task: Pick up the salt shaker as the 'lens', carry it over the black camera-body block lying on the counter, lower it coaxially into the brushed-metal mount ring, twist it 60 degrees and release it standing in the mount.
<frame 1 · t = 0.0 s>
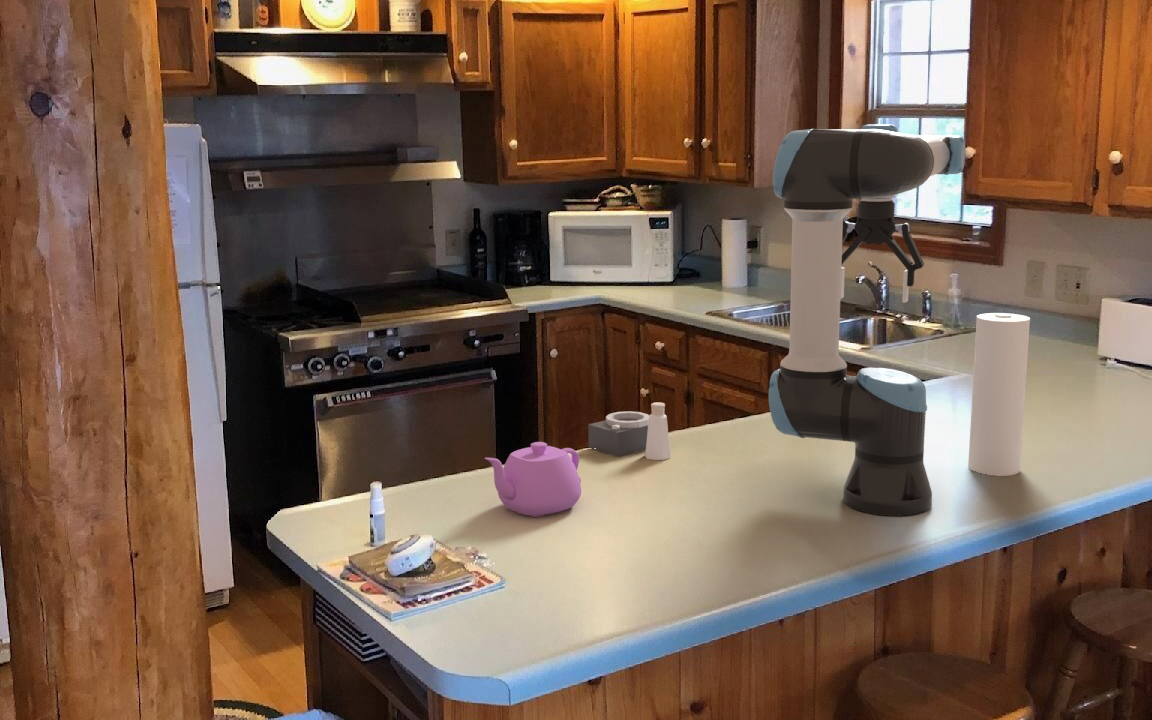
hand: (872, 300, 254), 28 cm above the worktop, fingers open, 13 cm apart
cylinder container: (993, 469, 229), on the worktop
teapot: (534, 510, 210), on the worktop
salt shaker: (657, 457, 240), on the worktop
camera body: (628, 445, 248), on the worktop
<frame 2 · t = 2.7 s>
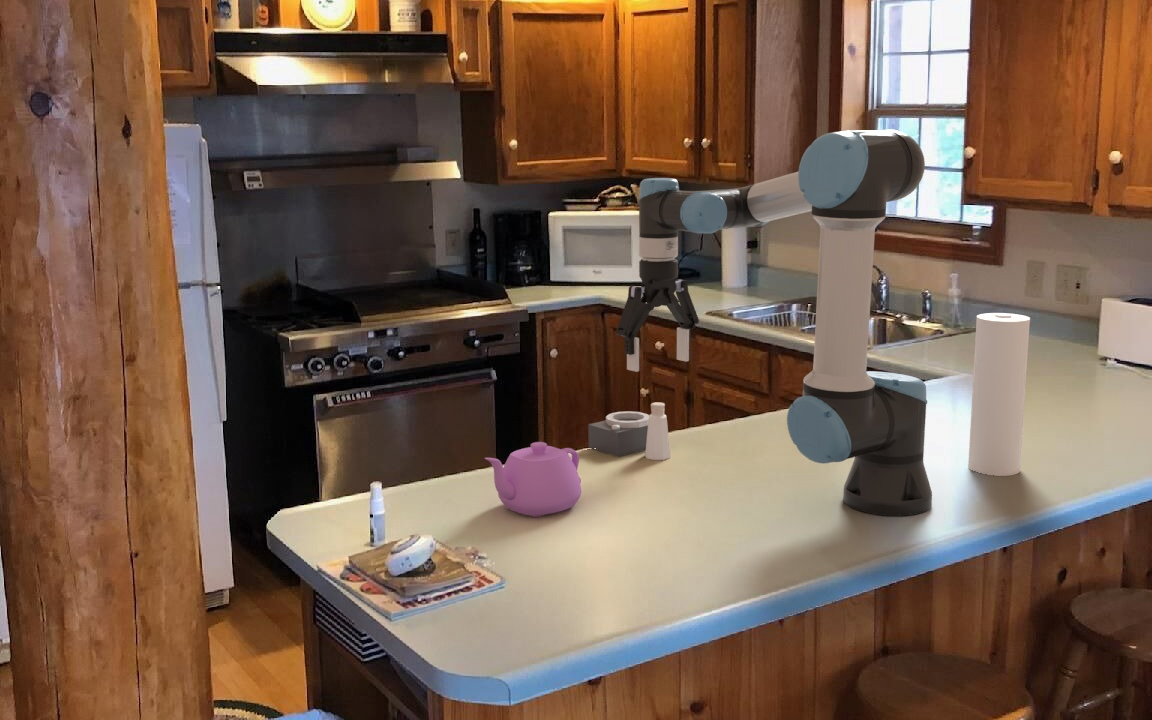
hand: (658, 365, 236), 19 cm above the worktop, fingers open, 13 cm apart
nothing on the worktop moved.
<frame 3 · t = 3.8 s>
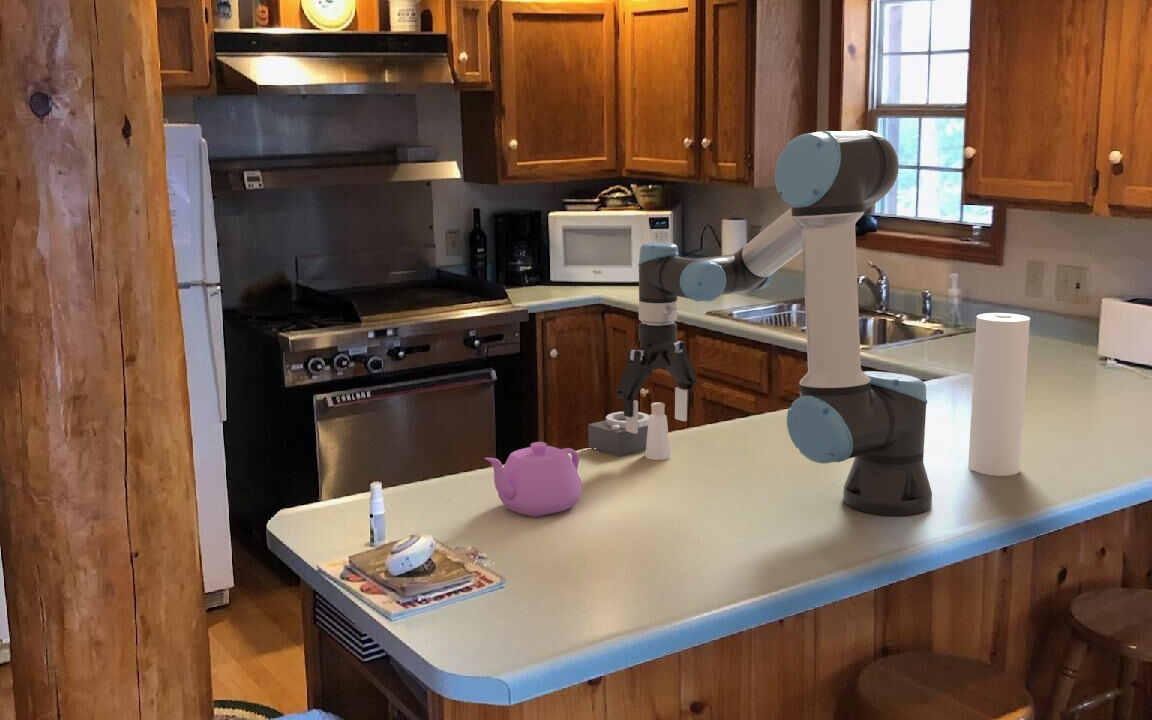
hand: (656, 426, 239), 6 cm above the worktop, fingers open, 13 cm apart
nothing on the worktop moved.
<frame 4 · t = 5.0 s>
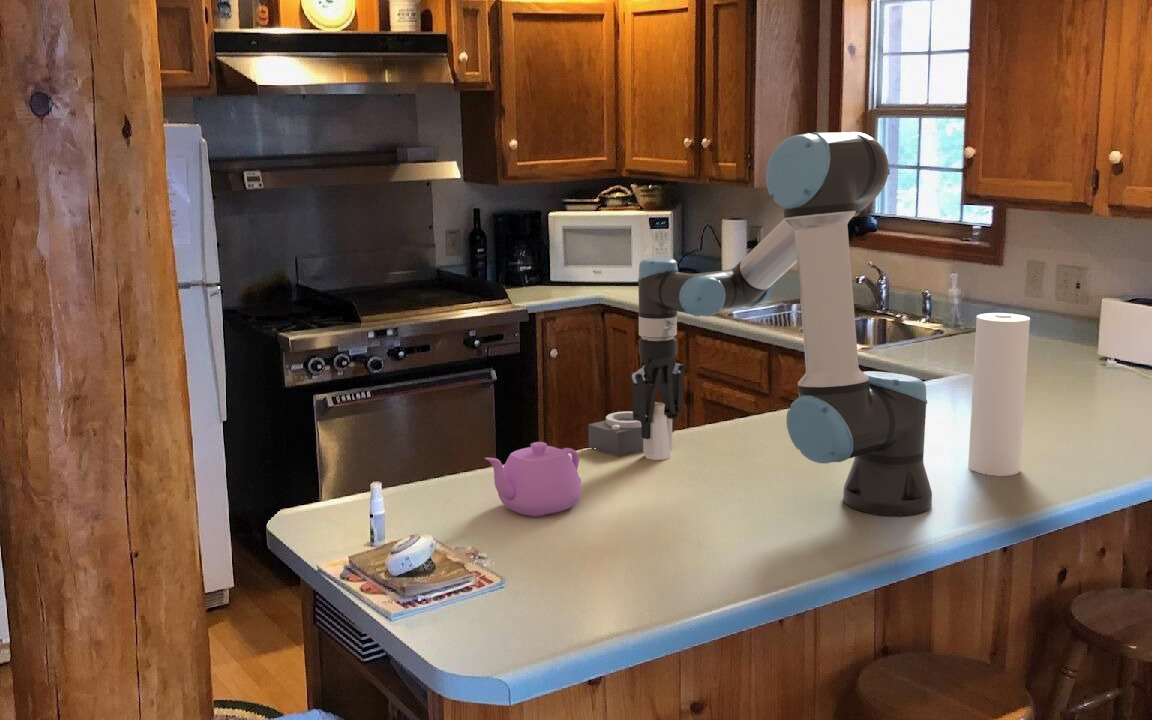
hand: (657, 451, 240), 1 cm above the worktop, fingers closed on salt shaker, 4 cm apart
salt shaker: (657, 457, 240), on the worktop, touching gripper
everything else where it was.
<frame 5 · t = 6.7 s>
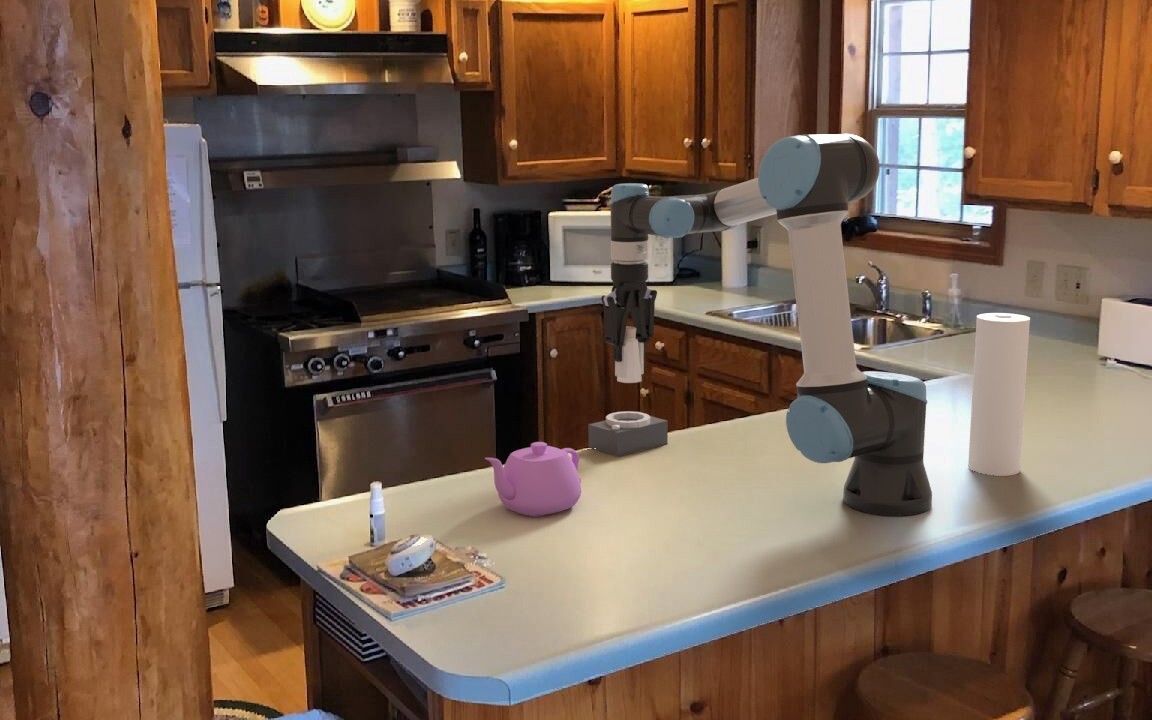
hand: (629, 374, 244), 15 cm above the worktop, fingers closed on salt shaker, 4 cm apart
salt shaker: (629, 381, 244), point 14 cm above the worktop, touching gripper
everything else where it was.
when the fingers open (7 cm above the worktop, at t = 8.8 s): salt shaker stays where it is, resting on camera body.
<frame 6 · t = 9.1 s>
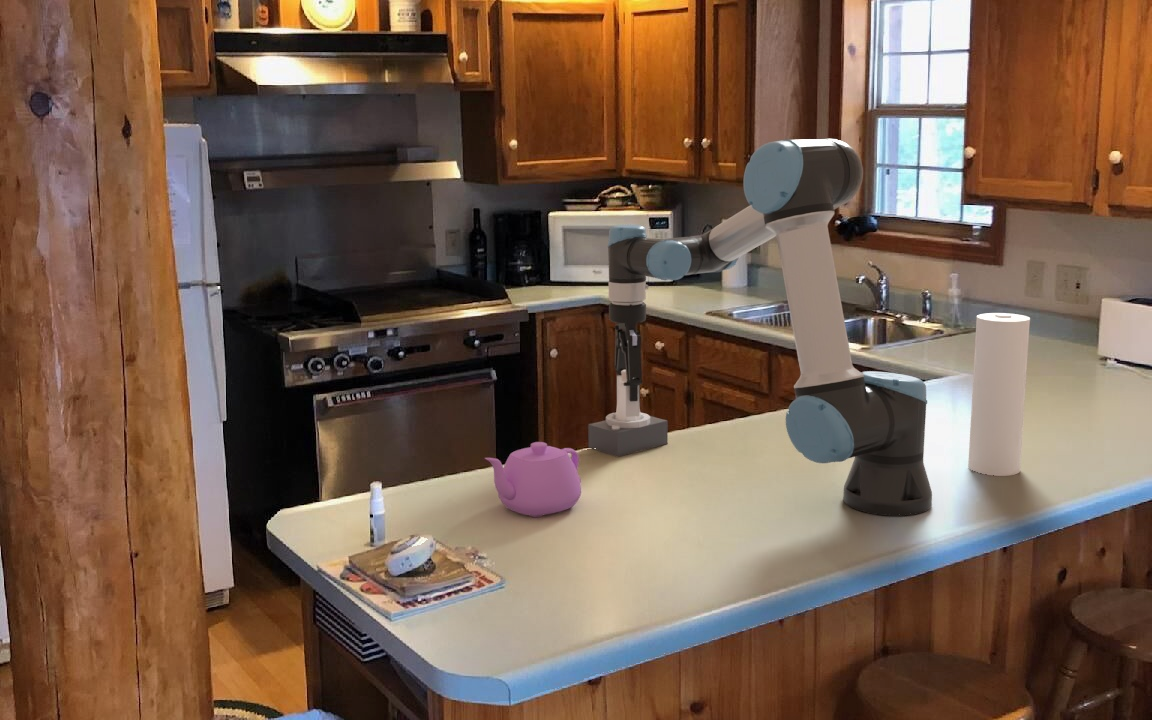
hand: (628, 410, 246), 8 cm above the worktop, fingers open, 8 cm apart
salt shaker: (628, 423, 247), point 5 cm above the worktop, touching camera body
everything else where it was.
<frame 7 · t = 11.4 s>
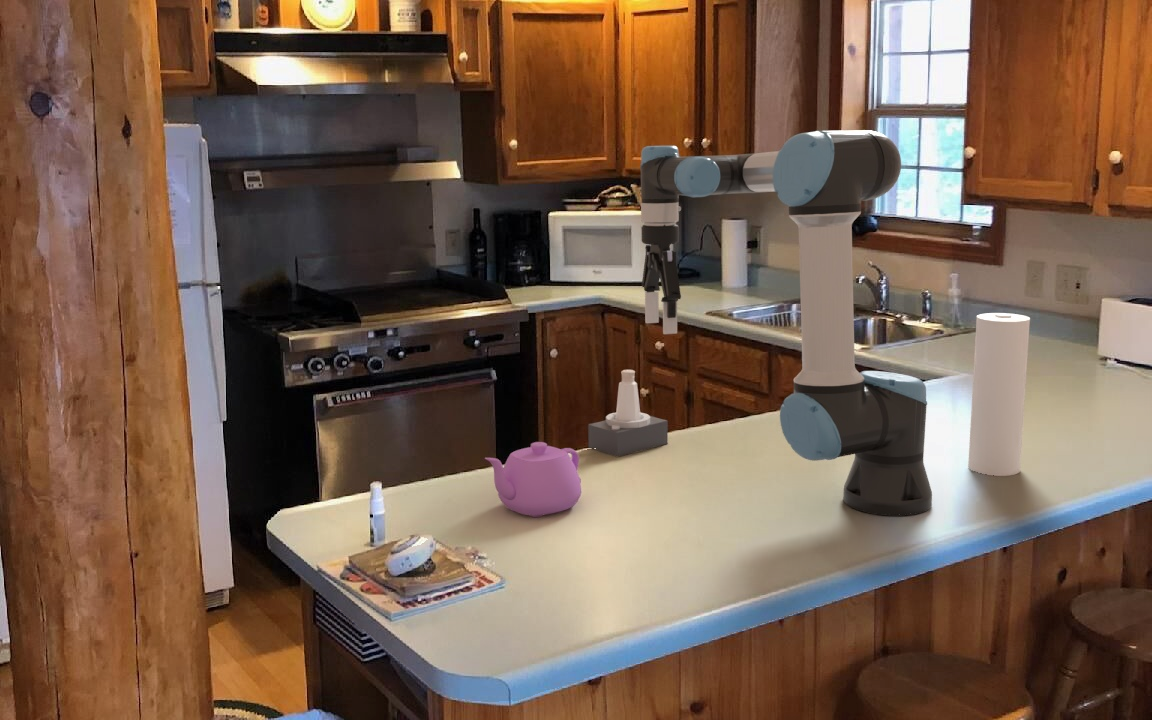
hand: (660, 328, 243), 25 cm above the worktop, fingers open, 13 cm apart
nothing on the worktop moved.
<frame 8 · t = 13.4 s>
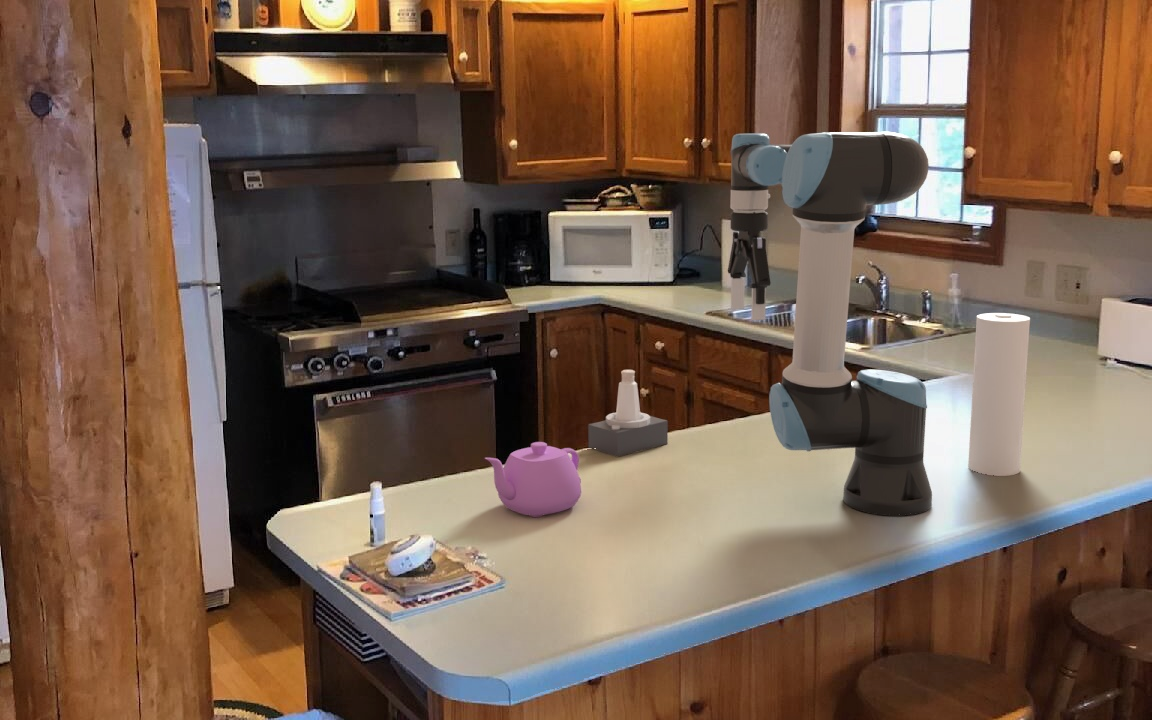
hand: (747, 314, 246), 27 cm above the worktop, fingers open, 13 cm apart
nothing on the worktop moved.
at the end: salt shaker 0.2 cm from the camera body (horizontally); salt shaker point 4.8 cm above the worktop; salt shaker tilted 0° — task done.
